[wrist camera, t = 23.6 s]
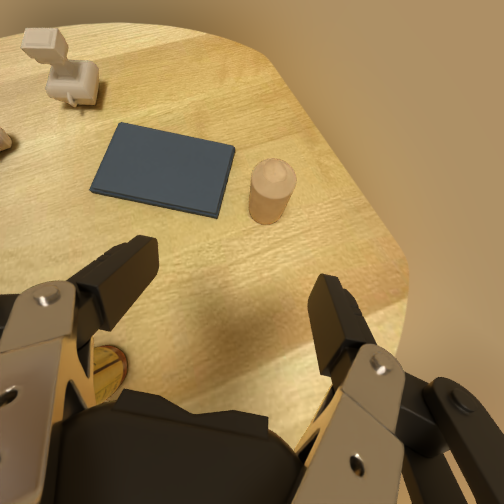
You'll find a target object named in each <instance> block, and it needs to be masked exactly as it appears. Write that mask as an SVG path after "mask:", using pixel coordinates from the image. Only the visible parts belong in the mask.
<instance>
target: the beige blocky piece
mask: <svg viewBox="0 0 504 504" xmlns="http://www.w3.org/2000/svg"><path fill="white" fill-rule="evenodd" d="M20 48H21V49H22V50H23V51H24V52H25V53H26V54H27V55H28V56H29V57H30V58H35V60H36V61H37V62H38V63H41V64H50V65H51V69H50V72H49V76H48V80H47V84H46V87H45V89H46V92H47V94H48V95H49V97H50V98H54V99H56V100H59V101H62V102H66V103H68V104H70V105H71V106H72V107H76V106H77V104H81V105H95V104H96V99H97V94H98V89H99V68H98V67H97V65H96V64H95V63H93V62H92V61H85V60H68V59H67V57H66V56H67V52H68V44H67V42H66V41H65V38H64V37H63V35H62V34H61V32H60V31H59V29H58V28H26V29H25V33H24V36H23V40H22V44H21V47H20Z"/></svg>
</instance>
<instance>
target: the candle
mask: <svg viewBox="0 0 504 504" xmlns="http://www.w3.org/2000/svg"><path fill="white" fill-rule="evenodd" d="M296 181H297V179H296V174H295V171H294V170H293V168H292V167H291V166H290V165H289V164H288V163H286V162H285V161H283V160H280V159H275V158H271V159H265V160H263V161H261V162H259V163H258V164H257V165H256V166H255V167H254V169H253V171H252V175H251V186H250V197H249V212H250V215H251V217H252V218H253V219H254V220H255V221H256V222H258V223H260V224H265V225H268V224H272V223H274V222H276V221H277V220H278V219H279V218H280V217H281V215H282V213H283V211H284V209H285V207H286V205H287V203H288V201H289V199H290V197H291V195H292V192H293V190H294V188H295V186H296Z"/></svg>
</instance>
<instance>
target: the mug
mask: <svg viewBox="0 0 504 504" xmlns="http://www.w3.org/2000/svg"><path fill="white" fill-rule="evenodd" d="M11 144H12V141H11V139H10V137H9V136H8V135H7V134H6V132H5V131H4V130H3V129H2V128H1V127H0V151H2V150H5V149H8V148H10V147H11Z"/></svg>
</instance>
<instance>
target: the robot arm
mask: <svg viewBox="0 0 504 504" xmlns="http://www.w3.org/2000/svg"><path fill="white" fill-rule="evenodd" d="M158 269H159V255H158V242H157V239H156V238H152V237H148V236H143V235H137V236H136V237H134V238H133V239H132V240H130V241H129V242H128V243H122V244H120V245H117V246H114V247H112V248H111V249H110V250H108V251H107V252H105V253H104V255H101V256H100V257H98V258H97V260H94V261H93V262H91V263H90V264H89V265H87V266H86V267H84V268H83V269H82V270H80V271H79V272H77V273H76V274H75V275H73V276H72V277H71V278H69V279H68V280H66V281H49V282H45V283H41V284H38V285H35V286H33V287H31V288H29V289H27V290H25V291H24V292H22V293H21V294H4V295H0V504H397V497H398V491H399V484H400V476H401V472H402V475H403V478H404V481H405V484H406V487H407V490H408V493H409V495H410V499H411V501H412V504H468V503H467V501H466V499H465V497H464V495H463V493H462V491H461V489H460V487H459V485H458V483H457V481H456V479H455V477H454V475H453V473H452V471H451V469H450V466H449V464H448V462H447V460H446V458H445V456H444V454H443V453H444V452H446V451H448V450H451V452H452V454H453V456H454V458H455V460H456V462H457V464H458V466H459V468H460V470H461V472H462V473H463V476H464V477H465V479H466V481H467V483H468V485H469V487H470V489H471V491H472V493H473V495H474V497H475V500H476V503H477V504H504V434H503V433H502V432H501V430H500V429H499V427H498V426H497V424H496V423H495V422H494V420H493V419H492V418H491V417H490V415H489V413H488V412H487V411H486V409H485V408H484V407H483V406H482V404H481V403H480V402H479V401H478V400H477V399H476V397H475V396H473V394H471V393H470V392H469V391H468V390H467V389H465V388H464V387H462V386H461V385H460V384H458V383H456V382H454V381H452V380H450V379H448V378H444V377H438V378H436V379H434V380H433V381H432V382H431V383H427V382H425V381H423V380H421V379H418V378H417V377H414V376H412V375H410V374H408V373H406V372H404V370H403V368H402V366H401V365H400V363H399V362H398V361H397V359H396V358H395V357H394V356H393V355H392V354H391V353H389V352H388V351H387V350H385V349H384V348H382V347H380V346H377V344H376V341H375V339H374V337H373V335H372V333H371V331H370V329H369V327H368V325H367V323H366V321H365V319H364V317H363V316H362V313H361V311H360V309H359V308H358V304H357V302H356V300H355V298H354V297H353V296H352V295H351V294H350V293H349V292H348V291H347V289H343V288H342V285H341V283H340V281H339V279H338V277H336V276H331V275H326V274H320V275H319V276H318V278H317V281H316V283H315V285H314V287H313V289H312V291H311V294H310V296H309V299H308V313H309V318H310V324H311V329H312V334H313V339H314V344H315V350H316V355H317V360H318V365H319V370H320V375H324V376H329V377H331V380H332V385H331V386H330V387H329V389H328V391H327V393H326V395H325V397H324V399H323V400H322V402H321V404H320V406H319V408H318V410H317V412H316V413H315V415H314V417H313V419H312V421H311V423H310V425H309V426H308V428H307V430H306V431H305V433H304V434H303V436H302V437H301V439H300V440H299V442H298V444H297V445H296V447H295V449H294V451H293V450H292V448H291V447H290V446H289V445H288V444H287V443H286V442H285V441H284V440H283V439H282V438H281V437H279V436H278V435H277V434H276V433H274V432H273V431H271V430H269V429H268V417H267V416H261V415H256V414H251V413H246V412H241V411H236V410H229V411H220V412H212V413H204V414H191V413H189V412H188V411H186V410H184V409H182V408H181V407H179V406H177V405H175V404H174V403H172V402H170V401H168V400H167V399H165V398H163V397H161V396H160V395H155V394H149V393H144V392H139V391H134V390H129V389H123V391H122V393H121V394H120V396H119V398H118V400H114V401H109V402H105V403H101V404H98V405H96V397H95V392H94V384H93V367H94V339H93V335H94V333H95V332H96V331H97V330H98V329H100V330H105V331H110V332H111V330H112V329H113V328H114V327H115V325H116V324H117V323H118V322H119V321H120V319H121V318H122V317H123V316H124V314H125V313H126V312H127V311H128V310H129V308H130V307H131V306H132V305H133V303H134V302H135V301H136V300H137V299H138V297H139V296H140V295H141V294H142V292H143V291H144V290H145V289H146V287H147V286H148V285H149V284H150V283H151V281H152V280H153V279H154V278H155V276H156V275H157V272H158Z"/></svg>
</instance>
